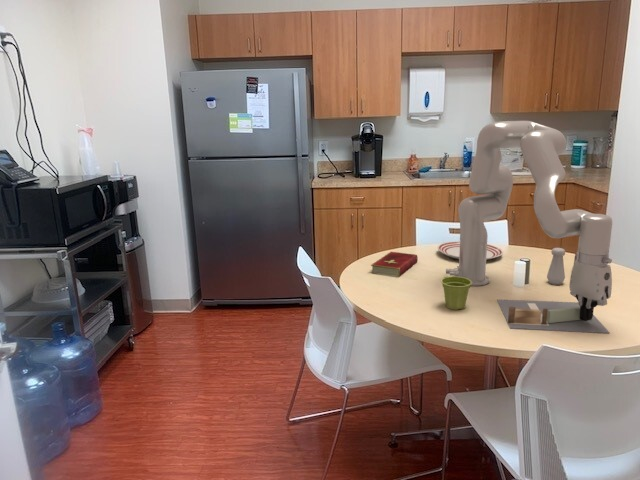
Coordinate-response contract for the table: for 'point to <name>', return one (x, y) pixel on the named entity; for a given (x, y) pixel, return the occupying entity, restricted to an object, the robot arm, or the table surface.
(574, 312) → the bar
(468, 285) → the plant pot
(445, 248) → the dinner plate
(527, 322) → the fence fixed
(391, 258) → the hardcover book
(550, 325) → the card
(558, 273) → the salt shaker
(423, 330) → the table surface
